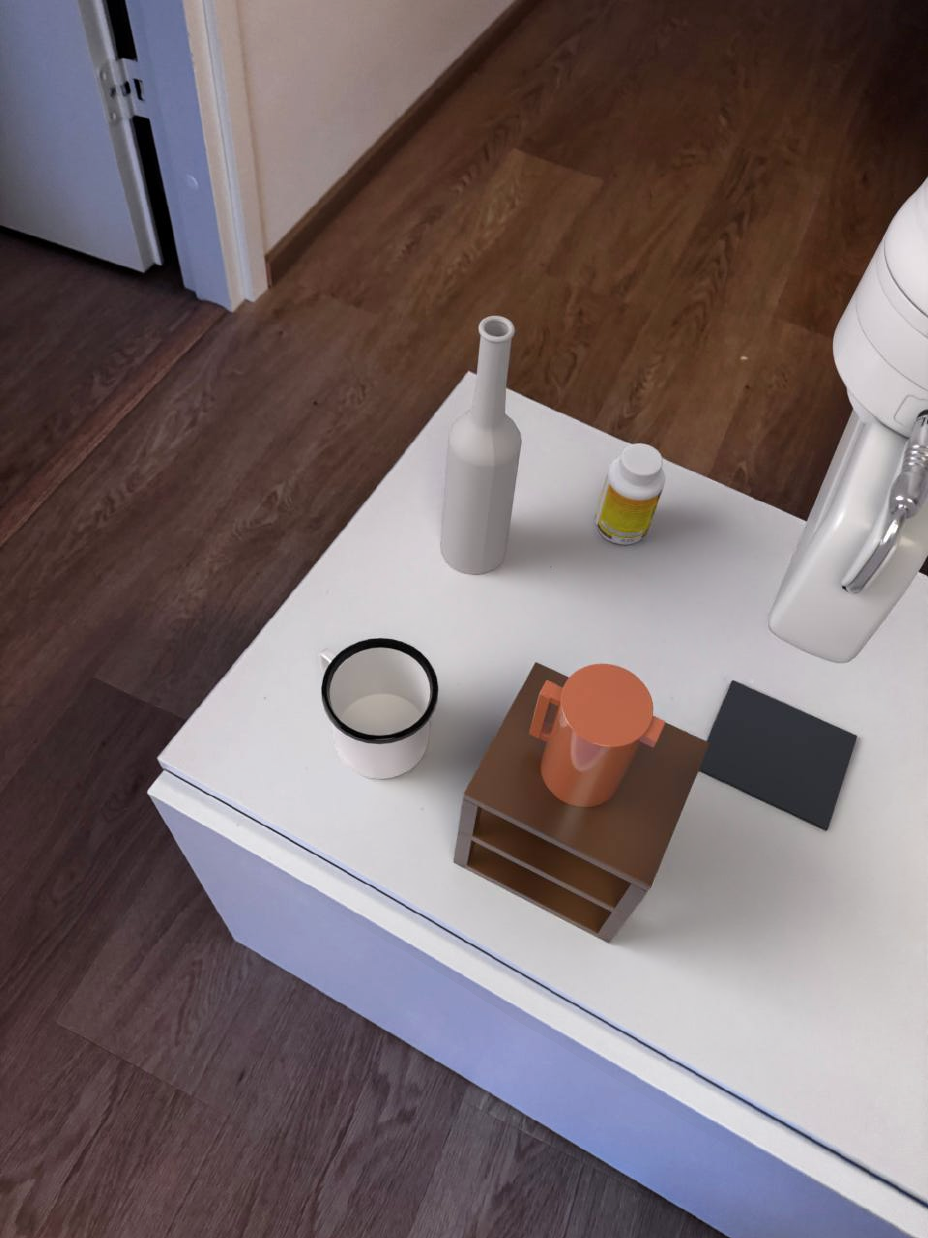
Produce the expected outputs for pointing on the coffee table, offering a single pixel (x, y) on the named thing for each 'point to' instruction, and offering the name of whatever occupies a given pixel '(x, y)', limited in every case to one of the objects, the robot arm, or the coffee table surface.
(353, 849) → the coffee table surface
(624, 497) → the supplement bottle
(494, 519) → the bottle
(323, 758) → the coffee table surface
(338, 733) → the mug
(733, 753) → the mat
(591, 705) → the orange two-handled pot
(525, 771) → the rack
